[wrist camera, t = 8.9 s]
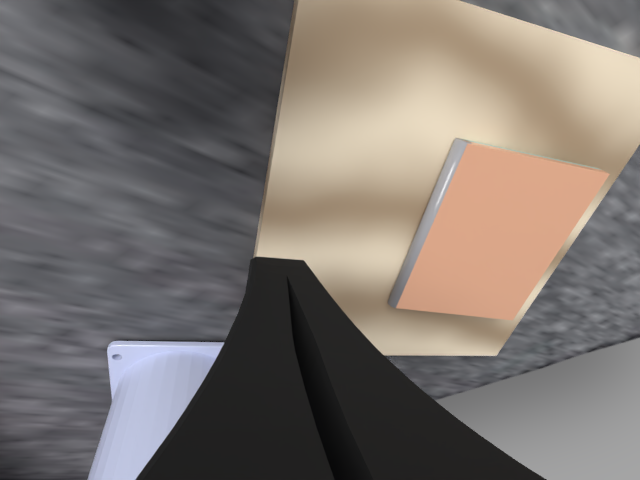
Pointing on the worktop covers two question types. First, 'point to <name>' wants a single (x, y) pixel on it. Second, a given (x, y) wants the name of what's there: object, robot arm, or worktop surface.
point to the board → (423, 142)
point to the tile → (492, 230)
